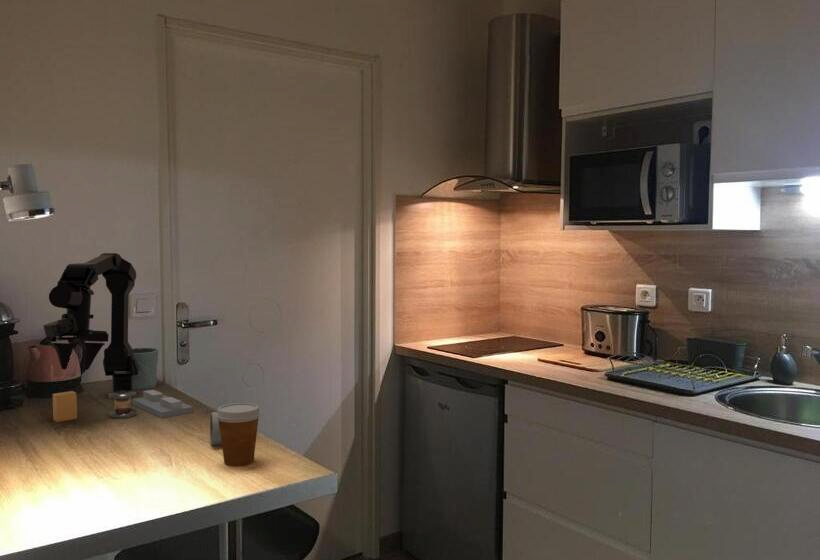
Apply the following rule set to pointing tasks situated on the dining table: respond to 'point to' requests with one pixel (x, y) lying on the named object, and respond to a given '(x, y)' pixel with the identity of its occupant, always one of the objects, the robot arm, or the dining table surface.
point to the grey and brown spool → (122, 404)
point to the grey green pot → (145, 368)
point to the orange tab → (64, 406)
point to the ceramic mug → (214, 430)
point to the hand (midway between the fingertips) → (74, 369)
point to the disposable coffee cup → (238, 432)
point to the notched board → (159, 408)
